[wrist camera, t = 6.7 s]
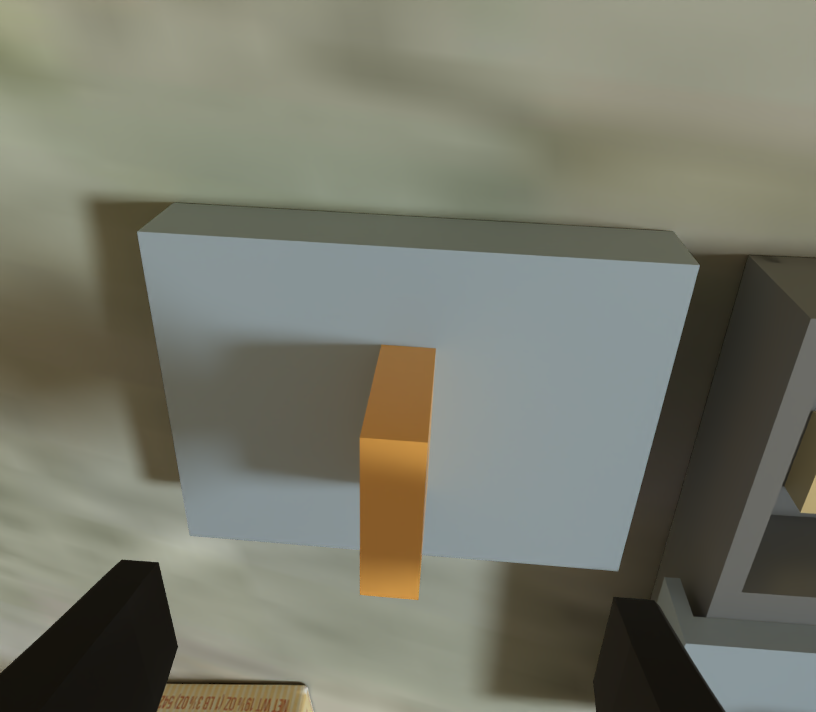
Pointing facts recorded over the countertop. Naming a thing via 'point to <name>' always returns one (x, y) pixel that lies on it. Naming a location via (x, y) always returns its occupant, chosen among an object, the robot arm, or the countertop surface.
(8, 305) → the countertop surface
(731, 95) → the countertop surface
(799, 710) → the lid segment
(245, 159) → the countertop surface
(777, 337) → the parts tub
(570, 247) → the tabbed lid segment
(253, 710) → the coffeecake box
